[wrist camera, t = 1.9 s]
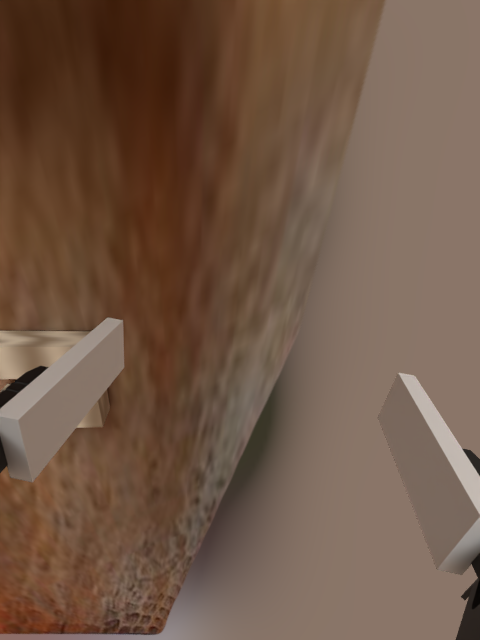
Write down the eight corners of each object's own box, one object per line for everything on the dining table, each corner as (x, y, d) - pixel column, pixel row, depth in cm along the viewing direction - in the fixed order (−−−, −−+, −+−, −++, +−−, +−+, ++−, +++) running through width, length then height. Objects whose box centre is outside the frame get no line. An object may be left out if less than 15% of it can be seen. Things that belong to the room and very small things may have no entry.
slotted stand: (15, 409, 48) (0, 429, 44) (-12, 330, 42) (-33, 346, 38) (110, 407, 50) (102, 426, 46) (97, 331, 43) (87, 346, 40)
